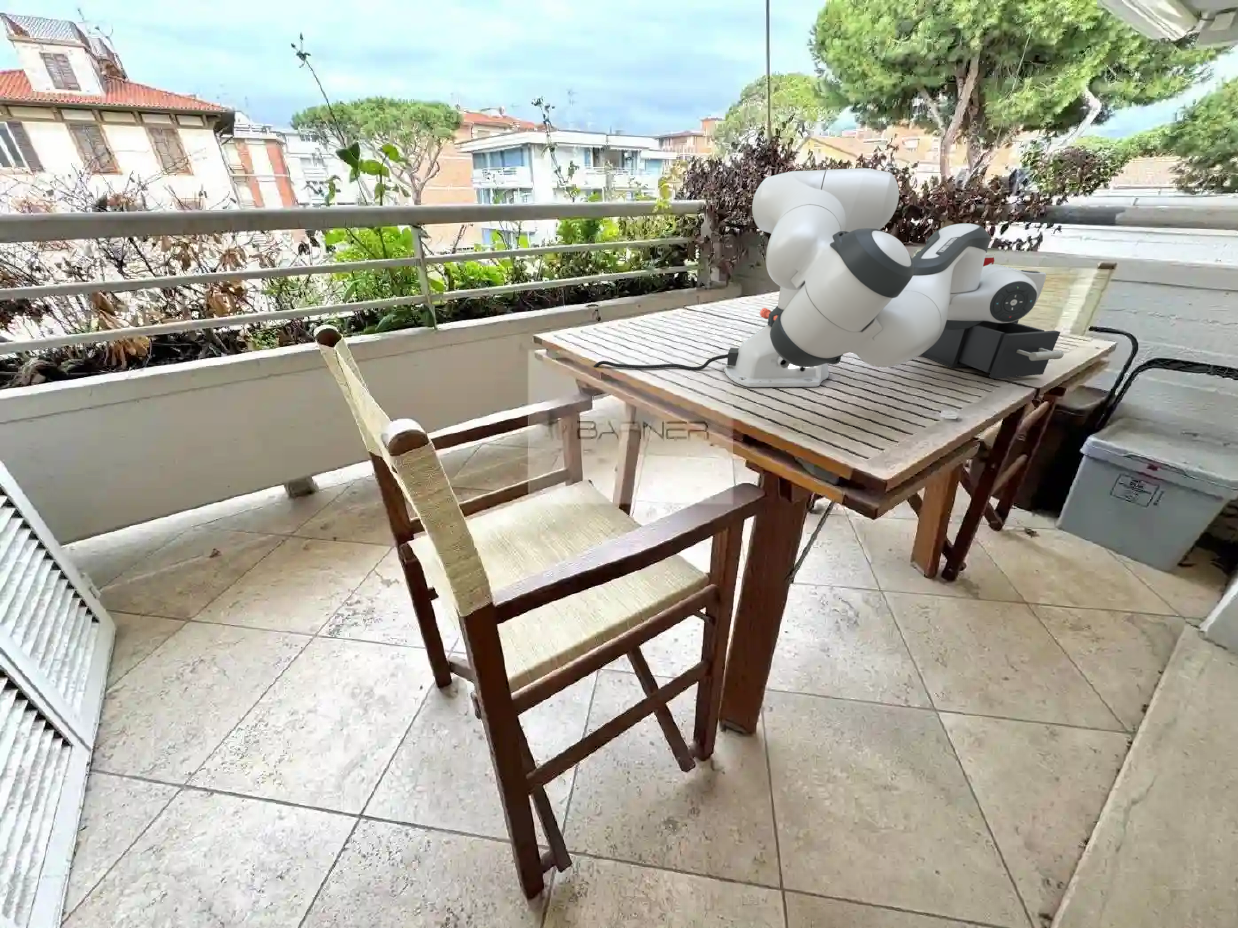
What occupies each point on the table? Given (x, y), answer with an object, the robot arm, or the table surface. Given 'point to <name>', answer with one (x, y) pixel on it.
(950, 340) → the cabinet
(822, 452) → the table surface
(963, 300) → the robot arm
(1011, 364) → the drawer
